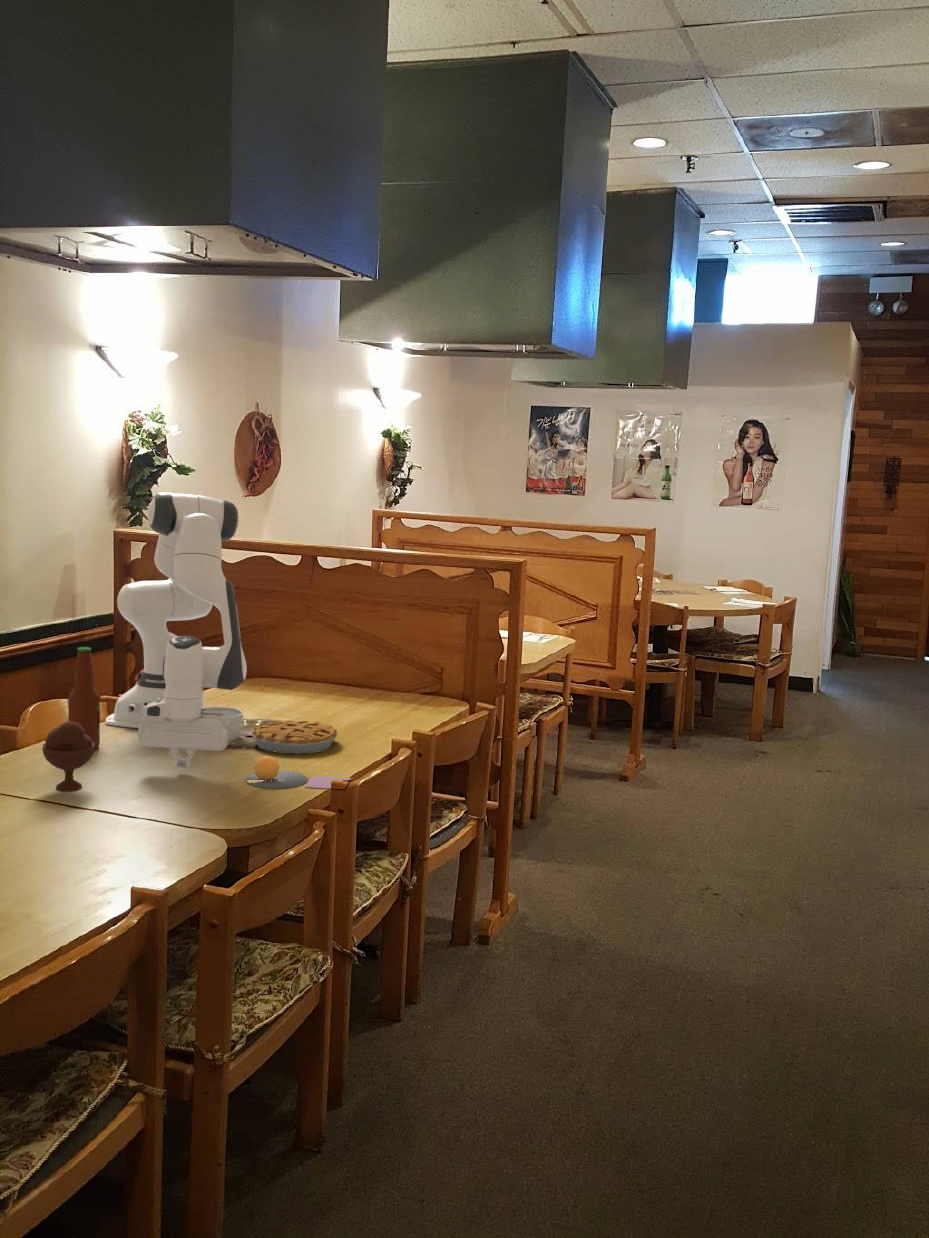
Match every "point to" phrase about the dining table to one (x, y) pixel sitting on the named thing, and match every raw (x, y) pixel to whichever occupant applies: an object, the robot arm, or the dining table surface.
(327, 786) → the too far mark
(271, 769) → the ball
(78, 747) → the ice cream bowl
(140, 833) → the dining table surface
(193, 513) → the robot arm
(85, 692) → the bottle
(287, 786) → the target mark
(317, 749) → the pie
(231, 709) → the ramekin
